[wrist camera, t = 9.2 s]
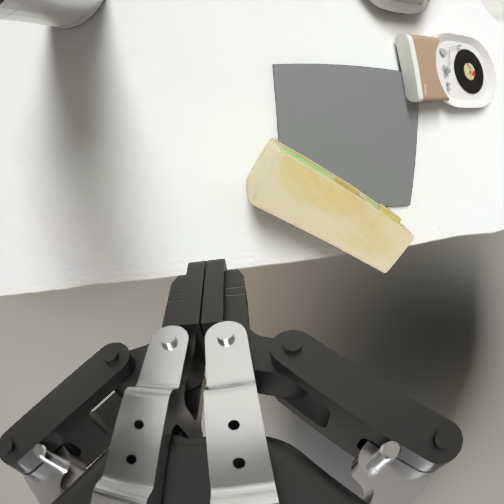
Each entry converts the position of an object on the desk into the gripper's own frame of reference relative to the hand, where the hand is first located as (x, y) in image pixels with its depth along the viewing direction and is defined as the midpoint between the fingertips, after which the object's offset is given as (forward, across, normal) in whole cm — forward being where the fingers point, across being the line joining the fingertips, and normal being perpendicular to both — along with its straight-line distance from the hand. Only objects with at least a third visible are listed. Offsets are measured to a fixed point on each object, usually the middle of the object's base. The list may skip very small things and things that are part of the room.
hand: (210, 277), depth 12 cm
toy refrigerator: (+22, -4, +2) cm, 23 cm away
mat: (+26, -17, 0) cm, 31 cm away
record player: (+26, -34, -11) cm, 44 cm away
